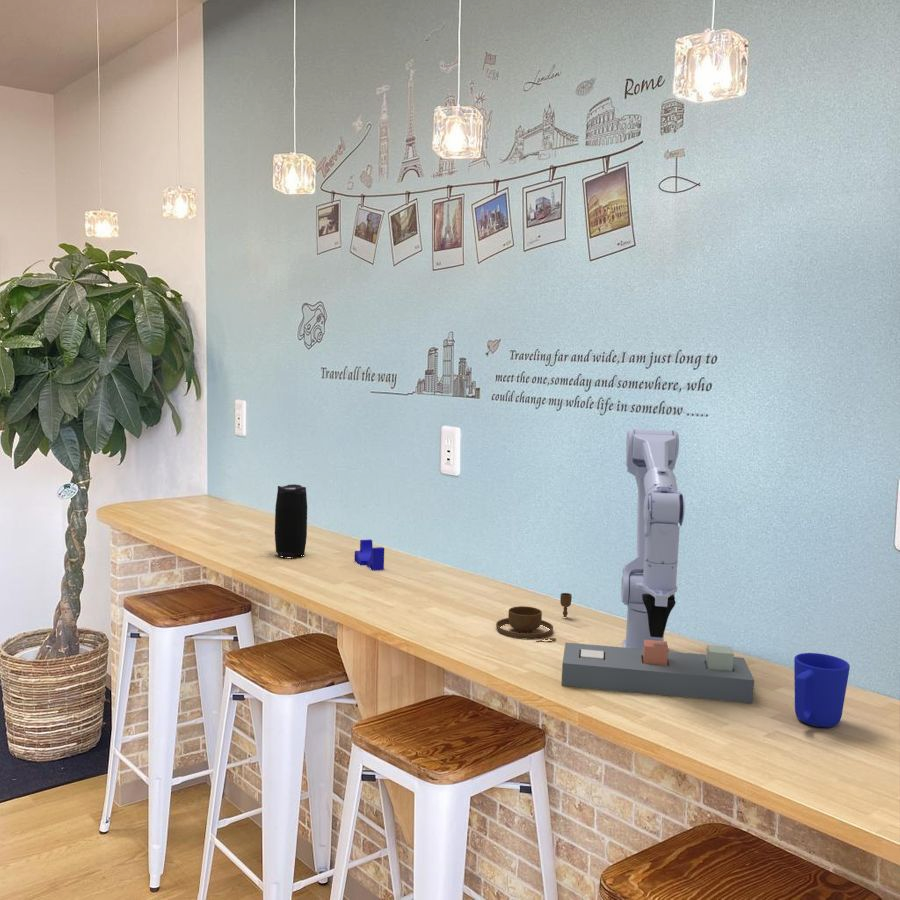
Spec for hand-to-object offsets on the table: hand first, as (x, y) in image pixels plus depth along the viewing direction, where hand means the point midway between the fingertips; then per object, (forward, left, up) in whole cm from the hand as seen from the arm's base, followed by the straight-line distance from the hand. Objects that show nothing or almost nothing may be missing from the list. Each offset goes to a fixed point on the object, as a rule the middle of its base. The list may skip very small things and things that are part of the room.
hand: (656, 636), depth 160 cm
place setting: (-27, -22, -9) cm, 36 cm away
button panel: (0, 0, -8) cm, 8 cm away
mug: (+13, +24, -9) cm, 29 cm away
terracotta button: (0, 0, -5) cm, 5 cm away
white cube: (0, -11, -8) cm, 14 cm away
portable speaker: (-77, -95, -9) cm, 123 cm away
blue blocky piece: (-73, -71, -9) cm, 102 cm away
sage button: (0, +11, -5) cm, 12 cm away
